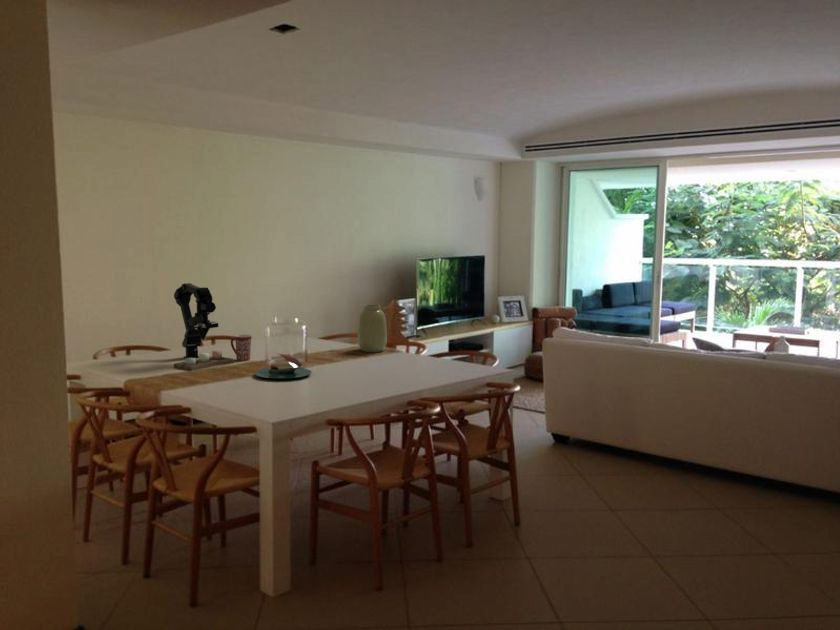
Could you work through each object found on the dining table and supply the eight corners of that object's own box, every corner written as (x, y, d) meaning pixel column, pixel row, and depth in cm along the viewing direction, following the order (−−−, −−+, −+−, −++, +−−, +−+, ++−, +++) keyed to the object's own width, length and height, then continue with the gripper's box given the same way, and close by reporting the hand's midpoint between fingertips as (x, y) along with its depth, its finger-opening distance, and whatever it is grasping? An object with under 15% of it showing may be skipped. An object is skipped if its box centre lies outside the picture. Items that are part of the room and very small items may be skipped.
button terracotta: (210, 358, 396) (210, 351, 395) (217, 357, 400) (217, 350, 400) (216, 359, 393) (216, 352, 393) (223, 358, 397) (223, 351, 397)
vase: (385, 353, 433) (386, 307, 430) (356, 352, 433) (356, 307, 430) (387, 348, 450) (387, 304, 447) (359, 347, 451) (359, 303, 447)
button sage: (183, 366, 381) (183, 358, 380) (191, 364, 385) (191, 357, 385) (190, 367, 378) (189, 359, 378) (197, 366, 382) (197, 358, 382)
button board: (173, 367, 381) (173, 363, 381) (215, 359, 405) (215, 355, 405) (192, 370, 374) (192, 366, 374) (233, 362, 397) (233, 358, 397)
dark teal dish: (312, 381, 354) (312, 358, 353) (252, 382, 350) (252, 359, 348) (311, 369, 382) (311, 348, 380) (256, 370, 377) (255, 349, 376)
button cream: (197, 361, 388) (197, 353, 388) (204, 359, 392) (204, 352, 392) (203, 362, 386) (203, 354, 385) (211, 361, 390) (210, 353, 389)
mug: (255, 359, 407) (255, 335, 406) (244, 361, 399) (244, 337, 398) (237, 357, 413) (237, 333, 411) (226, 359, 405) (226, 335, 403)
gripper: (178, 311, 394) (179, 339, 396) (202, 313, 384) (203, 343, 386) (195, 309, 403) (195, 337, 405) (218, 311, 393) (219, 340, 395)
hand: (202, 339), depth 397 cm, fingers closed
